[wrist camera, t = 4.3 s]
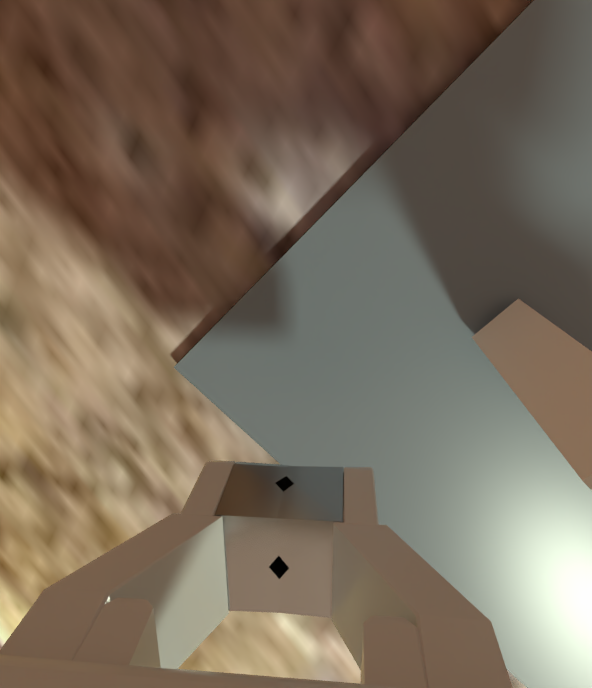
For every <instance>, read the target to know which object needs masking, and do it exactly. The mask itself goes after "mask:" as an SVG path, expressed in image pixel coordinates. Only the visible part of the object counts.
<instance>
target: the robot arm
mask: <svg viewBox="0 0 592 688" xmlns="http://www.w3.org/2000/svg"><path fill="white" fill-rule="evenodd" d="M228 611H251V612H276V613H288V614H298V615H308V616H318V617H328V618H332V622H333V623H334V625H335V627H336V629H337V630H338V632H339V634H340V635H341V637H342V639H343V641H344V642H345V644H346V646H347V647H348V649H349V651H350V653H351V654H352V656H353V658H354V659H355V661H356V663H357V665H358V666H359V668H360V670H361V684H356V683H344V682H332V681H320V680H308V679H295V678H283V677H270V676H258V675H245V674H233V673H220V672H208V671H195V670H183V669H178V668H179V667H180V666H181V664H182V663H183V662H184V661H185V660H186V659H187V658H188V657H189V656H190V655H191V654H192V653H193V652H194V650H195V649H196V648H197V647H198V646H199V645H200V644H201V643H202V642H203V641H204V640H205V639H206V638H207V636H208V635H209V634H210V633H211V632H212V631H213V630H214V629H215V628H216V627H217V626H218V625H219V623H220V622H221V621H222V620H223V619H224V618H225V617H226V616H227V615H228V614H229V612H228ZM0 688H513V687H512V684H511V681H510V678H509V675H508V672H507V669H506V666H505V663H504V660H503V656H502V653H501V650H500V647H499V644H498V641H497V638H496V635H495V632H494V629H493V626H492V622H491V621H490V620H489V619H488V618H487V617H486V616H485V615H483V614H482V613H481V612H480V611H479V610H478V609H477V608H476V607H475V606H474V605H473V604H472V603H471V602H469V601H468V600H467V599H466V598H465V597H464V596H463V595H462V594H461V593H460V592H459V591H458V590H457V589H455V588H454V587H453V586H452V585H451V584H450V583H449V582H448V581H447V580H446V579H445V578H444V577H442V576H441V575H440V574H439V573H438V572H437V571H436V570H435V569H434V568H433V567H432V566H431V565H430V564H428V563H427V562H426V561H425V560H424V559H423V558H422V557H421V556H420V555H419V554H418V553H417V552H415V551H414V550H413V549H412V548H411V547H410V546H409V545H408V544H407V543H406V542H405V541H404V540H403V539H401V538H400V537H399V536H398V535H397V534H396V533H395V532H394V531H393V530H392V529H391V528H390V527H389V526H387V525H379V524H378V513H377V503H376V493H375V482H374V472H373V469H372V468H371V467H344V472H343V467H317V466H290V465H278V464H262V463H246V462H236V463H235V462H234V461H208V462H207V463H205V465H204V467H203V469H202V471H201V473H200V475H199V477H198V479H197V481H196V483H195V485H194V488H193V490H192V492H191V494H190V496H189V498H188V500H187V502H186V504H185V506H184V508H183V510H182V512H181V514H171V515H169V516H168V517H166V518H164V519H163V520H161V521H159V522H158V523H156V524H154V525H152V526H151V527H149V528H147V529H146V530H144V531H142V532H141V533H139V534H137V535H136V536H134V537H132V538H131V539H129V540H127V541H125V542H124V543H122V544H120V545H119V546H117V547H115V548H114V549H112V550H110V551H109V552H107V553H105V554H104V555H102V556H100V557H99V558H97V559H95V560H93V561H92V562H90V563H88V564H87V565H85V566H83V567H82V568H80V569H78V570H77V571H75V572H73V573H72V574H70V575H68V576H66V577H65V578H63V579H61V580H60V581H58V582H56V583H55V584H53V585H51V586H50V587H48V588H46V589H45V590H44V591H43V592H42V593H41V595H40V596H39V597H38V599H37V600H36V602H35V603H34V604H33V606H32V607H31V608H30V610H29V611H28V613H27V614H26V615H25V617H24V618H23V619H22V621H21V622H20V623H19V625H18V626H17V628H16V629H15V630H14V632H13V633H12V634H11V636H10V637H9V639H8V640H7V641H6V643H5V644H4V645H3V647H2V648H1V650H0Z"/></svg>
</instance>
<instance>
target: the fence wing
mask: <svg viewBox="0 0 592 688" xmlns="http://www.w3.org/2000/svg"><path fill="white" fill-rule="evenodd" d="M472 338H473V340H474V341H475V342H476V344H477V345H478V346H479V347H480V349H481V350H482V351H483V353H484V354H485V355H486V357H487V358H488V359H489V360H490V362H491V363H492V364H493V366H494V367H495V368H496V370H497V371H498V372H499V373H500V375H501V376H502V377H503V379H504V380H505V381H506V382H507V384H508V385H509V386H510V388H511V389H512V390H513V392H514V393H515V394H516V395H517V397H518V398H519V399H520V401H521V402H522V403H523V405H524V406H525V407H526V408H527V410H528V411H529V412H530V414H531V415H532V416H533V417H534V419H535V420H536V421H537V423H538V424H539V425H540V427H541V428H542V429H543V430H544V432H545V433H546V434H547V436H548V437H549V438H550V440H551V441H552V442H553V443H554V445H555V446H556V447H557V449H558V450H559V451H560V452H561V454H562V455H563V456H564V458H565V459H566V460H567V462H568V463H569V464H570V465H571V467H572V468H573V469H574V471H575V472H576V473H577V475H578V476H579V477H580V478H581V480H582V481H583V482H584V483H585V484H586V485H587V486H588V487H589V488H590V489H591V490H592V351H590V350H589V349H588V348H586V347H585V346H583V345H582V344H581V343H579V342H578V341H576V340H575V339H574V338H572V337H571V336H570V335H568V334H567V333H565V332H564V331H563V330H561V329H560V328H558V327H557V326H556V325H554V324H553V323H552V322H550V321H549V320H547V319H546V318H545V317H543V316H542V315H540V314H539V313H538V312H536V311H535V310H534V309H532V308H531V307H529V306H528V305H527V304H525V303H524V302H522V301H521V300H520V299H517V300H516V301H515V302H514V303H512V304H511V305H510V306H509V307H507V308H506V309H505V310H504V311H503V312H501V313H500V314H499V315H498V316H497V317H495V318H494V319H493V320H492V321H491V322H489V323H488V324H487V325H486V326H484V327H483V328H482V329H481V330H480V331H478V332H477V333H476V334H475V335H474V336H472Z"/></svg>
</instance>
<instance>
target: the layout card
mask: <svg viewBox="0 0 592 688" xmlns="http://www.w3.org/2000/svg"><path fill="white" fill-rule="evenodd" d="M517 299H520V300H521V301H522V302H524V303H525V304H527V305H528V306H529V307H531V308H532V309H534V310H535V311H536V312H538V313H539V314H540V315H542V316H543V317H545V318H546V319H547V320H549V321H550V322H552V323H553V324H554V325H556V326H557V327H558V328H560V329H561V330H563V331H564V332H565V333H567V334H568V335H570V336H571V337H572V338H574V339H575V340H576V341H578V342H579V343H581V344H582V345H583V346H585V347H586V348H588V349H589V350H590V351H592V0H533V2H532V3H531V4H530V5H529V6H528V7H527V8H526V9H525V10H524V11H523V12H522V13H521V14H520V15H519V16H518V17H517V18H516V19H515V20H514V21H513V22H512V23H511V24H510V25H509V26H508V27H507V28H506V29H505V30H504V31H503V32H502V33H501V34H500V35H499V36H498V37H497V38H496V39H495V40H494V41H493V42H492V43H491V44H490V45H489V46H488V47H487V48H486V49H485V50H484V51H483V52H482V53H481V55H480V56H479V57H478V58H477V59H476V60H475V61H474V62H473V63H472V64H471V65H470V66H469V67H468V68H467V69H466V70H465V71H464V72H463V73H462V74H461V75H460V76H459V77H458V78H457V79H456V80H455V81H454V82H453V83H452V84H451V85H450V86H449V87H448V88H447V89H446V90H445V91H444V92H443V93H442V94H441V95H440V96H439V97H438V98H437V99H436V100H435V101H434V102H433V103H432V104H431V105H430V106H429V107H428V109H427V110H426V111H425V112H424V113H423V114H422V115H421V116H420V117H419V118H418V119H417V120H416V121H415V122H414V123H413V124H412V125H411V126H410V127H409V128H408V129H407V130H406V131H405V132H404V133H403V134H402V135H401V136H400V137H399V138H398V139H397V140H396V141H395V142H394V143H393V144H392V145H391V146H390V147H389V148H388V149H387V150H386V151H385V152H384V153H383V154H382V155H381V156H380V157H379V158H378V159H377V160H376V162H375V163H374V164H373V165H372V166H371V167H370V168H369V169H368V170H367V171H366V172H365V173H364V174H363V175H362V176H361V177H360V178H359V179H358V180H357V181H356V182H355V183H354V184H353V185H352V186H351V187H350V188H349V189H348V190H347V191H346V192H345V193H344V194H343V195H342V196H341V197H340V198H339V199H338V200H337V201H336V202H335V203H334V204H333V205H332V206H331V207H330V208H329V209H328V210H327V211H326V212H325V213H324V215H323V216H322V217H321V218H320V219H319V220H318V221H317V222H316V223H315V224H314V225H313V226H312V227H311V228H310V229H309V230H308V231H307V232H306V233H305V234H304V235H303V236H302V237H301V238H300V239H299V240H298V241H297V242H296V243H295V244H294V245H293V246H292V247H291V248H290V249H289V250H288V251H287V252H286V253H285V254H284V255H283V256H282V257H281V258H280V259H279V260H278V261H277V262H276V263H275V264H274V265H273V266H272V267H271V269H270V270H269V271H268V272H267V273H266V274H265V275H264V276H263V277H262V278H261V279H260V280H259V281H258V282H257V283H256V284H255V285H254V286H253V287H252V288H251V289H250V290H249V291H248V292H247V293H246V294H245V295H244V296H243V297H242V298H241V299H240V300H239V301H238V302H237V303H236V304H235V305H234V306H233V307H232V308H231V309H230V310H229V311H228V312H227V313H226V314H225V315H224V316H223V317H222V318H221V319H220V320H219V322H218V323H217V324H216V325H215V326H214V327H213V328H212V329H211V330H210V331H209V332H208V333H207V334H206V335H205V336H204V337H203V338H202V339H201V340H200V341H199V342H198V343H197V344H196V345H195V346H194V347H193V348H192V349H191V350H190V351H189V352H188V353H187V354H186V355H185V356H184V357H183V358H182V359H181V360H180V361H179V362H178V363H177V364H176V365H175V367H174V368H175V369H176V370H177V371H178V372H179V373H180V374H182V375H183V376H184V377H185V378H186V379H187V380H188V381H189V382H190V383H192V384H193V385H194V386H195V387H196V388H197V389H198V390H199V391H200V392H201V393H203V394H204V395H205V396H206V397H207V398H208V399H209V400H210V401H211V402H212V403H214V404H215V405H216V406H217V407H218V408H219V409H220V410H221V411H222V412H224V413H225V414H226V415H227V416H228V417H229V418H230V419H231V420H232V421H233V422H235V423H236V424H237V425H238V426H239V427H240V428H241V429H242V430H243V431H244V432H246V433H247V434H248V435H249V436H250V437H251V438H252V439H253V440H254V441H255V442H257V443H258V444H259V445H260V446H261V447H262V448H263V449H264V450H265V451H267V452H268V453H269V454H270V455H271V456H272V457H273V458H274V459H275V460H276V461H278V462H279V463H280V464H281V465H290V466H317V467H343V472H344V467H371V468H372V469H373V472H374V482H375V493H376V503H377V513H378V524H379V525H387V526H389V527H390V528H391V529H392V530H393V531H394V532H395V533H396V534H397V535H398V536H399V537H400V538H401V539H403V540H404V541H405V542H406V543H407V544H408V545H409V546H410V547H411V548H412V549H413V550H414V551H415V552H417V553H418V554H419V555H420V556H421V557H422V558H423V559H424V560H425V561H426V562H427V563H428V564H430V565H431V566H432V567H433V568H434V569H435V570H436V571H437V572H438V573H439V574H440V575H441V576H442V577H444V578H445V579H446V580H447V581H448V582H449V583H450V584H451V585H452V586H453V587H454V588H455V589H457V590H458V591H459V592H460V593H461V594H462V595H463V596H464V597H465V598H466V599H467V600H468V601H469V602H471V603H472V604H473V605H474V606H475V607H476V608H477V609H478V610H479V611H480V612H481V613H482V614H483V615H485V616H486V617H487V618H488V619H489V620H490V621H491V622H492V626H493V629H494V632H495V635H496V638H497V641H498V644H499V647H500V650H501V653H502V656H503V660H504V663H505V666H506V669H507V670H508V671H509V672H510V673H511V674H512V675H514V676H515V677H516V678H517V679H518V680H519V681H520V682H521V683H522V684H524V685H525V686H526V687H527V688H592V490H591V489H590V488H589V487H588V486H587V485H586V484H585V483H584V482H583V481H582V480H581V478H580V477H579V476H578V475H577V473H576V472H575V471H574V469H573V468H572V467H571V465H570V464H569V463H568V462H567V460H566V459H565V458H564V456H563V455H562V454H561V452H560V451H559V450H558V449H557V447H556V446H555V445H554V443H553V442H552V441H551V440H550V438H549V437H548V436H547V434H546V433H545V432H544V430H543V429H542V428H541V427H540V425H539V424H538V423H537V421H536V420H535V419H534V417H533V416H532V415H531V414H530V412H529V411H528V410H527V408H526V407H525V406H524V405H523V403H522V402H521V401H520V399H519V398H518V397H517V395H516V394H515V393H514V392H513V390H512V389H511V388H510V386H509V385H508V384H507V382H506V381H505V380H504V379H503V377H502V376H501V375H500V373H499V372H498V371H497V370H496V368H495V367H494V366H493V364H492V363H491V362H490V360H489V359H488V358H487V357H486V355H485V354H484V353H483V351H482V350H481V349H480V347H479V346H478V345H477V344H476V342H475V341H474V340H473V338H472V336H474V335H475V334H476V333H477V332H478V331H480V330H481V329H482V328H483V327H484V326H486V325H487V324H488V323H489V322H491V321H492V320H493V319H494V318H495V317H497V316H498V315H499V314H500V313H501V312H503V311H504V310H505V309H506V308H507V307H509V306H510V305H511V304H512V303H514V302H515V301H516V300H517Z"/></svg>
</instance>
